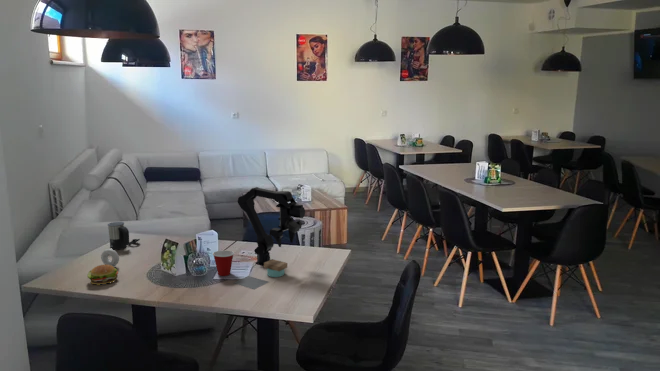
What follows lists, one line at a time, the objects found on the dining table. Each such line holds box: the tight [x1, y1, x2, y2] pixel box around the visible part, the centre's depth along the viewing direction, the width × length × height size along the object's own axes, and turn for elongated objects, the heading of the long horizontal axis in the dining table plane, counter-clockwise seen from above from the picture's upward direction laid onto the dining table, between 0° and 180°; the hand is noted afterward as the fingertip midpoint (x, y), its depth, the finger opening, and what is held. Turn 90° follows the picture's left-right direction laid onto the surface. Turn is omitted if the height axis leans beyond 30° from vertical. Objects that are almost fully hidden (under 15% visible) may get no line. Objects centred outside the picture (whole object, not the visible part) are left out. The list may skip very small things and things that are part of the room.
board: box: [263, 258, 288, 271], centre depth 249 cm, size 10×6×2 cm, turn 56°
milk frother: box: [107, 221, 141, 250], centre depth 296 cm, size 14×16×15 cm
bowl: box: [266, 268, 285, 278], centre depth 250 cm, size 8×8×4 cm
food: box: [87, 264, 119, 286], centre depth 243 cm, size 14×14×8 cm
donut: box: [100, 248, 120, 267], centre depth 262 cm, size 10×4×10 cm, turn 78°
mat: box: [233, 275, 269, 290], centre depth 240 cm, size 14×11×1 cm
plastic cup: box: [212, 250, 235, 277], centre depth 250 cm, size 11×11×12 cm
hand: (285, 244), depth 259 cm, fingers open, 9 cm apart
